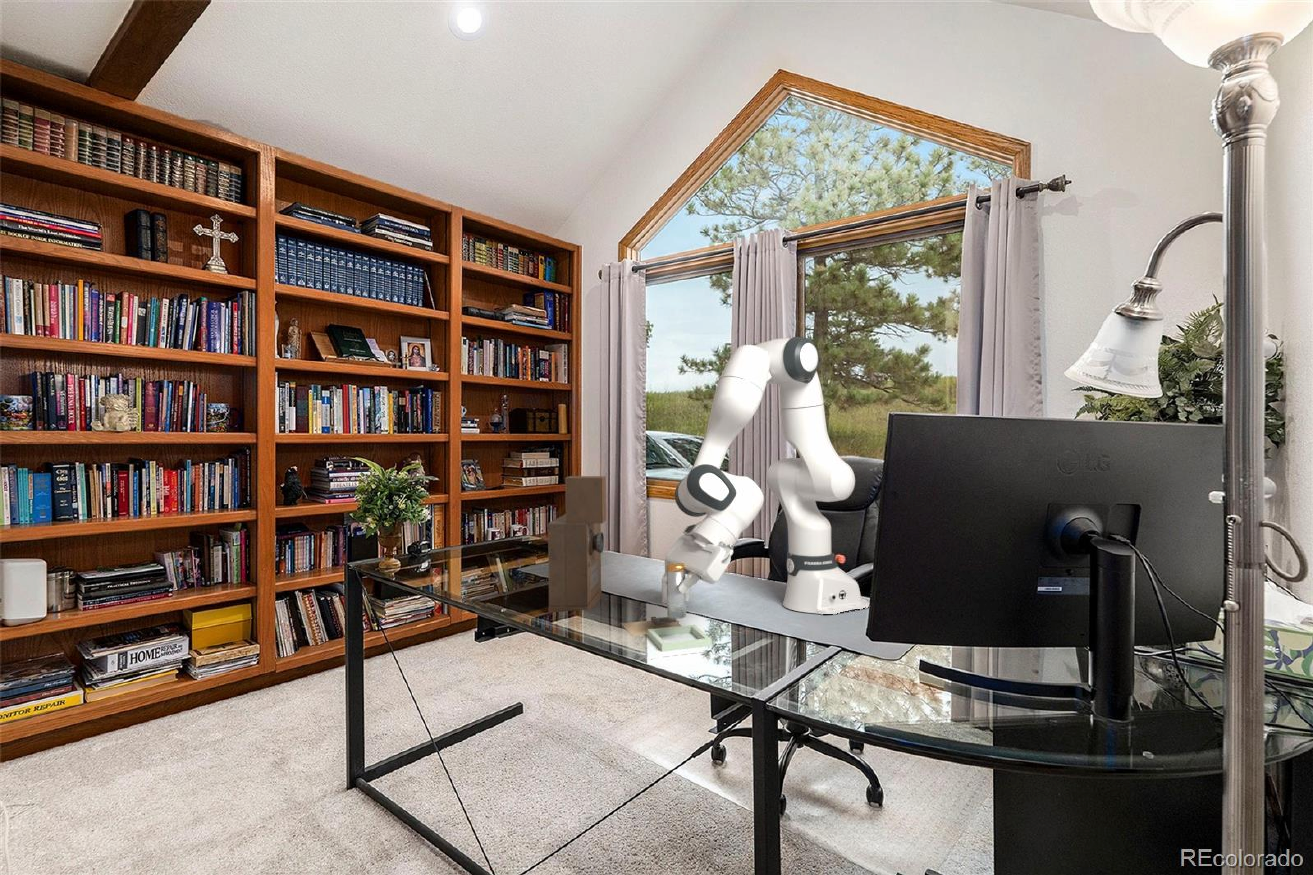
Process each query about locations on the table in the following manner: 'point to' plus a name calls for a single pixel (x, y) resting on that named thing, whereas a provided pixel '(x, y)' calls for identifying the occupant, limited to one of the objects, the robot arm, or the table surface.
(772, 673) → the table surface
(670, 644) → the tray
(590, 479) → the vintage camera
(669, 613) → the glass spice jar
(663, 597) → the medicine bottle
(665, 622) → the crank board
